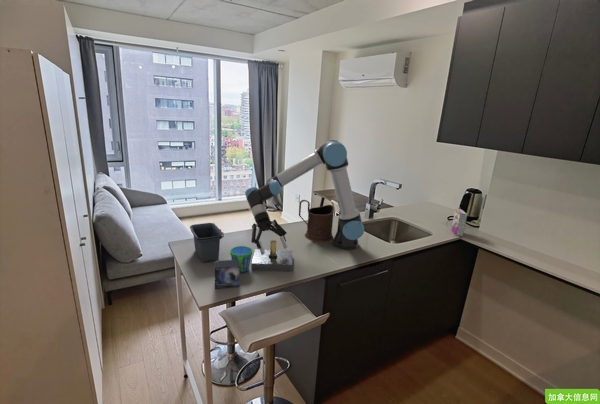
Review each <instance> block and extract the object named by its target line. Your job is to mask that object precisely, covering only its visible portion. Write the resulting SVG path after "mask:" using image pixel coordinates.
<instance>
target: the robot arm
mask: <svg viewBox="0 0 600 404" xmlns="http://www.w3.org/2000/svg"><path fill="white" fill-rule="evenodd" d="M320 165H322V166H323V165H325V167H326V171H328V172H329V173H330V176H331V179H332V180H331V181H332V184H333V188H334V192H335V196H336V200H337V204H338V208H339V210H338V220H337V231H336V233H335V235H334V236H333V239H332V240H333V241H332V243H333V245H334V246H335V247H337V248H340V249H341V250H344V249H345V250H355V249H356V248H358V247H359V239H360V238H361V237H362V236H363V235H364V233H365V225H364V223H363V222H362V221H363V220H362V218H361V217H362V216H361V213H360V210H359V209H358V208H357V207H356V203H355V199H354V195H353V191H352V187H351V183H350V178H349V174H348V173H349V172H348V169H347V167H349V159H348V151H347V148H346V146H344V144H343V143H342V142H339V141H338V140H334V139H331V140H328V141H326V142H325V143H323V144H322V145H320V146H319V147H317V148H316V149H315V150H314V152H313V153H311V154H309V155H308V156H306V157H304V158H303V159H301V160H300V161H298V162H296V163H294V164H292V165H291V166H289V167H288V168H286V169H284V170H283V171H281V172H279V173H277V174H276V175H274V176H273V177H269V178H268V179H267V180H266V183H265V185H263V186H261V187H260V188H258V187H256V186H252V187H249V188H247V190H245V191H244V193H245V194H244V195H245V197H246V201H247V203H248V206H249V208H250V211H251V213H252V215H253V217H254V218H253V219H254V221H255V223H253V224H252V225H251V229H252V232H251V241H250V242H251V243H252V244H253V243H254V245H256V247H257V249H260V252H261V254H262V255H263V254H264V253H265V251H264V250H265V249H264V246H263V243H262V241H261V240H260V239H261V236H262V233H263V232H265V231H267V232H268V231H270V232H272V233H275V235H276V236H278V237H279V240H280V242H281V244H282V247H283V249H284V250H286V249H287V248H289V247H288V244H287V239H286V237H285V235H287V233H288V232H287V231H286V230H285V229H284V228H283V227H282V226H281V225H280V224H279V223H278V222H277V220H276V219H273V220H272V221H271V219H270V215H269V213H268V211H267V209H266V205H265V203H264V202H266V201H268V200H270V199H272V198H274V197H276V196H278V195H279V194H281V193H282V192H283V187H285V186H286V185H288V184H290V183H292V182H293V181H294V180H297V179H298V178H300V177H301V176H303V175H305V174H307V173H308V172H310V171H312V170H313V169H316V168H317V167H319V166H320ZM257 228H258V229H259V230H258V233H257Z"/></svg>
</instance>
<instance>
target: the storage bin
mask: <svg viewBox="0 0 600 404" xmlns="http://www.w3.org/2000/svg"><path fill="white" fill-rule="evenodd" d="M189 229H190V231H191V233H192V235H193V243H194V249H195V250H194V251H195V252H196V254H197V255H198V258H199V259H200V261H201V262H202V263H206V262H210V261H215V260H216V261H218V260H219V258H220V245H221V244H220V243H221V240H222V239H223V238H224V236H225V235H224V232H223V231H222V229H220V228H219V227H218V226H217V225H216V223H214V222H206V223H205V222H203V223H197V224H191V225H190V226H189Z"/></svg>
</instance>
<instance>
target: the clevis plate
mask: <svg viewBox="0 0 600 404" xmlns="http://www.w3.org/2000/svg"><path fill="white" fill-rule="evenodd" d="M264 251H265V253H264V254H263V255H262V254H261V252H260V249H258V248H257V249H254V253H253V256H252V258H251V259H252V260H251V262H250V265H251V266H250V267H251V268H250V269H251V271H273V272H274V271H275V272H276V271H277V272H278V271H279V272H293V250H283V249H282V250H279V249H278V250H277V249H276V259H270V249H264Z"/></svg>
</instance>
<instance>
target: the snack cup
mask: <svg viewBox="0 0 600 404" xmlns="http://www.w3.org/2000/svg"><path fill="white" fill-rule="evenodd" d="M252 254H253V249H252V248H251V247H249V246H246V245H238V246H234V247H232V248H231V249H230V250H229V255H230V257H231V260H239V265H240V273H241V274H242V273H246V272H248V271H249V269H250V265H251V261H252V260H251V259H252Z"/></svg>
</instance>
